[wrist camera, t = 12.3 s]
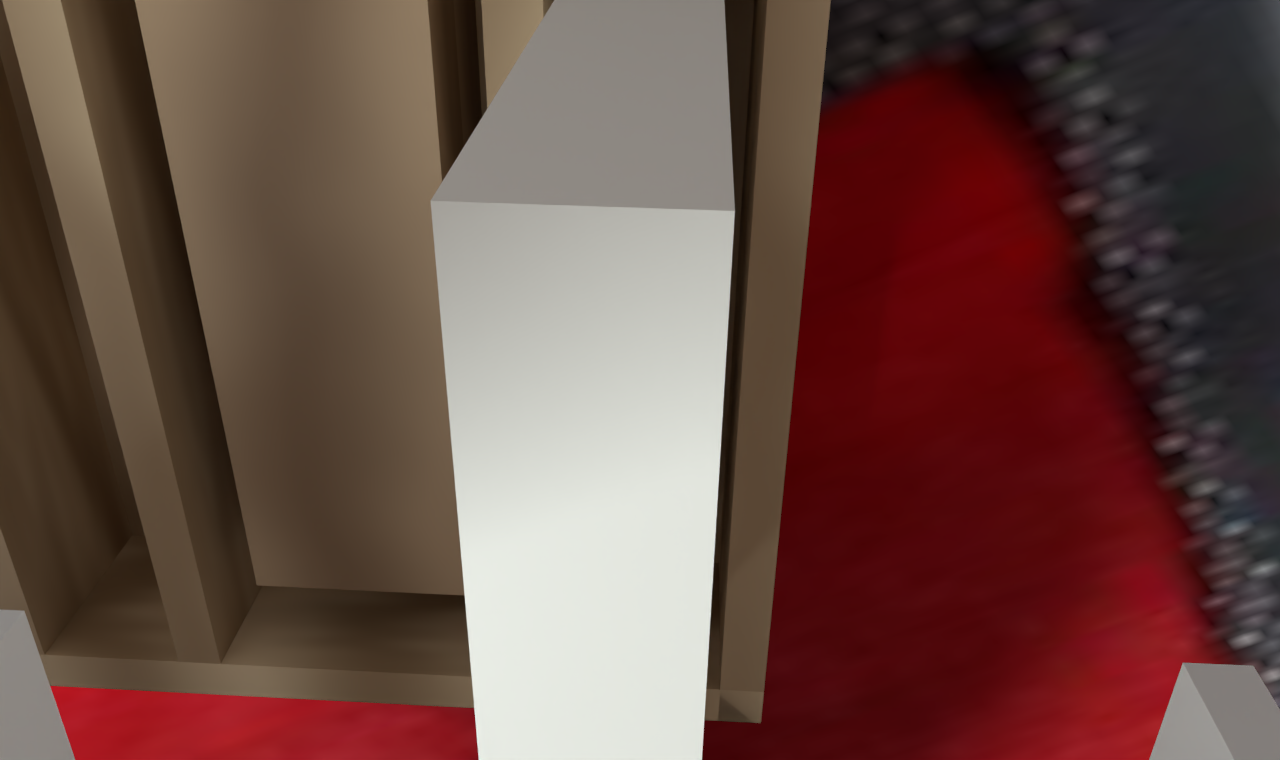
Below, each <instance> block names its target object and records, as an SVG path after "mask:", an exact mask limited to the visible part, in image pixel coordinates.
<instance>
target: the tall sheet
mask: <svg viewBox="0 0 1280 760" xmlns="http://www.w3.org/2000/svg"><path fill="white" fill-rule="evenodd" d="M431 213H432V224H433V236H434V247H435V259H436V270H437V282H438V293H439V305H440V317H441V328H442V340H443V351H444V363H445V374H446V386H447V397H448V409H449V421H450V432H451V444H452V455H453V467H454V478H455V490H456V501H457V513H458V525H459V536H460V548H461V559H462V571H463V582H464V594H465V605H466V617H467V629H468V640H469V652H470V663H471V675H472V686H473V698H474V709H475V721H476V733H477V744H478V756H479V760H702V750H703V734H704V717H705V701H706V684H707V667H708V651H709V634H710V617H711V601H712V584H713V567H714V551H715V534H716V517H717V501H718V484H719V468H720V451H721V434H722V418H723V401H724V384H725V368H726V351H727V334H728V318H729V301H730V285H731V268H732V251H733V235H734V218H735V203H734V183H733V163H732V143H731V123H730V103H729V83H728V63H727V43H726V23H725V3H724V0H554V2H553V3H552V5H551V6H550V8H549V10H548V11H547V13H546V14H545V16H544V18H543V19H542V21H541V23H540V24H539V26H538V27H537V29H536V31H535V32H534V34H533V36H532V37H531V39H530V40H529V42H528V44H527V45H526V47H525V49H524V50H523V52H522V53H521V55H520V57H519V58H518V60H517V61H516V63H515V65H514V66H513V68H512V70H511V71H510V73H509V74H508V76H507V78H506V79H505V81H504V83H503V84H502V86H501V87H500V89H499V91H498V92H497V94H496V96H495V97H494V99H493V100H492V102H491V104H490V105H489V107H488V108H487V110H486V112H485V113H484V115H483V117H482V118H481V120H480V121H479V123H478V125H477V126H476V128H475V130H474V131H473V133H472V134H471V136H470V138H469V139H468V141H467V143H466V144H465V146H464V147H463V149H462V151H461V152H460V154H459V155H458V157H457V159H456V160H455V162H454V164H453V165H452V167H451V168H450V170H449V172H448V173H447V175H446V177H445V178H444V180H443V181H442V183H441V185H440V186H439V188H438V190H437V191H436V193H435V194H434V196H433V198H432V199H431Z"/></svg>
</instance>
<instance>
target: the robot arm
mask: <svg viewBox="0 0 1280 760" xmlns="http://www.w3.org/2000/svg"><path fill="white" fill-rule="evenodd" d="M0 760H75V758H74V755H73V752H72V749H71V746H70V743H69V740H68V737H67V734H66V731H65V728H64V725H63V723H62V720H61V717H60V714H59V711H58V708H57V705H56V702H55V699H54V696H53V693H52V690H51V687H50V684H49V681H48V679H47V676H46V673H45V670H44V667H43V664H42V661H41V658H40V655H39V652H38V649H37V646H36V643H35V640H34V637H33V634H32V632H31V629H30V626H29V623H28V620H27V617H26V614H25V611H21V610H0ZM1149 760H1280V709H1279V707H1278V706H1277V704H1276V703H1275V701H1274V699H1273V698H1272V696H1271V694H1270V693H1269V691H1268V689H1267V688H1266V686H1265V684H1264V683H1263V681H1262V679H1261V678H1260V676H1259V675H1258V673H1257V671H1256V670H1255V668H1254V666H1244V665H1222V664H1199V663H1183V664H1182V667H1181V670H1180V673H1179V675H1178V678H1177V681H1176V684H1175V687H1174V690H1173V693H1172V696H1171V699H1170V701H1169V704H1168V707H1167V710H1166V713H1165V716H1164V719H1163V722H1162V725H1161V728H1160V730H1159V733H1158V736H1157V739H1156V742H1155V745H1154V748H1153V751H1152V754H1151V757H1150V759H1149Z"/></svg>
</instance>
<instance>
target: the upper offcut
mask: <svg viewBox="0 0 1280 760" xmlns="http://www.w3.org/2000/svg"><path fill="white" fill-rule="evenodd" d="M135 4H136V9H137V13H138V18H139V23H140V28H141V33H142V37H143V42H144V47H145V52H146V56H147V61H148V66H149V71H150V76H151V80H152V85H153V90H154V95H155V100H156V104H157V109H158V114H159V119H160V124H161V128H162V133H163V138H164V143H165V148H166V152H167V157H168V162H169V167H170V172H171V176H172V181H173V186H174V191H175V196H176V200H177V205H178V210H179V215H180V220H181V224H182V229H183V234H184V239H185V244H186V248H187V253H188V258H189V263H190V267H191V272H192V277H193V282H194V287H195V291H196V296H197V301H198V306H199V311H200V315H201V320H202V325H203V330H204V335H205V339H206V344H207V349H208V354H209V359H210V363H211V368H212V373H213V378H214V383H215V387H216V392H217V397H218V402H219V407H220V411H221V416H222V421H223V426H224V431H225V435H226V440H227V445H228V450H229V454H230V459H231V464H232V469H233V474H234V478H235V483H236V488H237V493H238V498H239V502H240V507H241V512H242V517H243V522H244V526H245V531H246V536H247V541H248V546H249V550H250V555H251V560H252V565H253V570H254V574H255V579H256V584H257V585H259V586H279V587H300V588H321V589H341V590H362V591H382V592H403V593H424V594H444V595H465V594H464V582H463V571H462V559H461V548H460V536H459V525H458V513H457V501H456V490H455V478H454V467H453V455H452V444H451V432H450V421H449V409H448V397H447V386H446V374H445V363H444V351H443V340H442V328H441V317H440V305H439V293H438V282H437V270H436V259H435V247H434V236H433V224H432V213H431V199H432V198H433V196H434V194H435V193H436V191H437V190H438V188H439V186H440V185H441V183H442V181H443V180H444V178H445V177H446V175H447V173H448V172H449V170H450V168H451V167H452V165H453V164H454V162H455V160H456V159H457V157H458V155H459V154H460V152H461V151H462V149H463V147H464V146H463V131H462V117H461V102H460V88H459V73H458V59H457V44H456V29H455V15H454V0H135Z"/></svg>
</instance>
